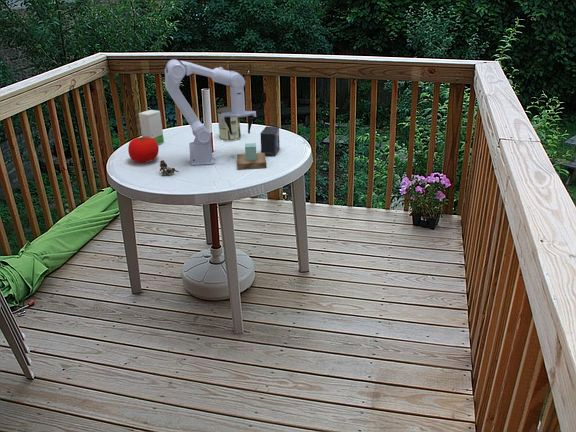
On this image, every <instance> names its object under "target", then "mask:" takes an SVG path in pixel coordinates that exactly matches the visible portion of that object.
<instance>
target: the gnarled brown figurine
mask: <svg viewBox="0 0 576 432" xmlns="http://www.w3.org/2000/svg"><path fill="white" fill-rule="evenodd" d="M159 162H160V164H159V167H160V168H159V172H160V173H159V175H160V176H161V177H164V176H171V175H173V174H175V173H179V170H176V168H175V167H168V164H167V163H166V162H165V160H163V159H162V160H160V161H159Z"/></svg>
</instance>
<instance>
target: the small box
mask: <svg viewBox="0 0 576 432" xmlns="http://www.w3.org/2000/svg"><path fill="white" fill-rule="evenodd" d="M259 135H260V153H265V157H275V156H277V155H276V154H277V153H278V152H279V150H280V148H281V147H280V127H279V126H267V125H266V126H265V127H264V128H263V129H262V131H261V132H260V134H259Z"/></svg>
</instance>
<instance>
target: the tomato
mask: <svg viewBox="0 0 576 432" xmlns="http://www.w3.org/2000/svg"><path fill="white" fill-rule="evenodd" d="M127 147H128V148H127V151H128V155H129V157H130V159H131V160H132V161H133V162H136V163H140V164H141V163H142V164H143V163H144V164H145V163H149V162H152V161H154V160H155V159H156V158H157V157H158V155H159V151H160V150H159V145H158V144H157V142H156V140H154V139H153V138H149V137H142V136H140V137H135V138H133V139H131V140H130V141H129V143H128V146H127Z"/></svg>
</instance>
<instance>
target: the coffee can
mask: <svg viewBox="0 0 576 432" xmlns="http://www.w3.org/2000/svg"><path fill="white" fill-rule="evenodd" d="M216 112H217V121H218V132H219V140H220V139H221V140H220V141H222V140H223V141H222V142H235V140H236V141H238V140H240V139H241V138H242V136H241V135H242V133H241V121H240V117H232V118H230V120H231V129H232V135H230V131H229V128H228V126H227V124H226V122H225V120H224V118H222V115H221V113H226V112H232V108H231V106H223V107H220V108H217V109H216Z"/></svg>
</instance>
